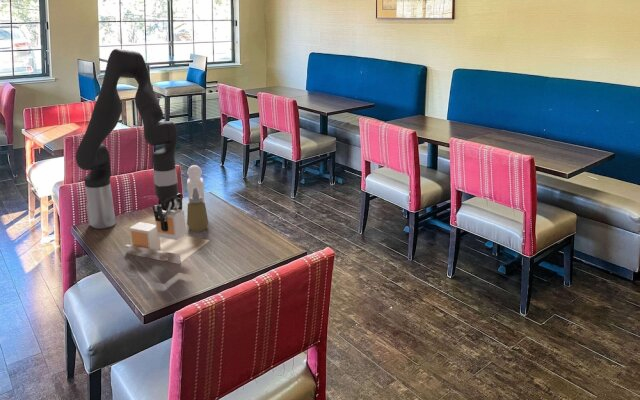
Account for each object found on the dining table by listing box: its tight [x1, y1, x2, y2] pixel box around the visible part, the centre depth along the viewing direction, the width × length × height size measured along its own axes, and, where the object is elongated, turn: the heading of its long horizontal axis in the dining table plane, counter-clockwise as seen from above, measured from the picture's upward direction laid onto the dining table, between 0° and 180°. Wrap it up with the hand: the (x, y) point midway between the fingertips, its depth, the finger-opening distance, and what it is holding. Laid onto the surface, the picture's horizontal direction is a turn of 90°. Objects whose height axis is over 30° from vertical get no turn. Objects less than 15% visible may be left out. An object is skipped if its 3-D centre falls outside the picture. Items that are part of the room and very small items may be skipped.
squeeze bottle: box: [186, 188, 209, 232], centre depth 211 cm, size 8×8×18 cm
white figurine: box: [186, 164, 205, 203], centre depth 225 cm, size 6×6×22 cm
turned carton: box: [154, 209, 187, 240], centre depth 188 cm, size 6×8×9 cm
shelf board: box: [124, 235, 211, 264], centre depth 197 cm, size 22×20×4 cm
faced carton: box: [128, 221, 161, 250], centre depth 194 cm, size 6×8×9 cm
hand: (170, 227), depth 188 cm, fingers closed on turned carton, 6 cm apart
